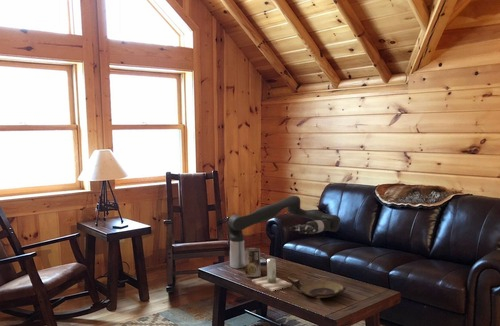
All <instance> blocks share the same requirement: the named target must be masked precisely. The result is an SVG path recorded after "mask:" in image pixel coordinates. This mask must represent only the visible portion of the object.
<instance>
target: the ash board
mask: <svg viewBox="0 0 500 326" xmlns="http://www.w3.org/2000/svg"><path fill="white" fill-rule="evenodd" d="M251 282H252V283H253V284H255V285H257V286H259V285H260V286H259V287H262V288H264V289H266V290H268V291H270V292H275V290H276V291H279V290H283V289H286V288H289V287H293V286H292V285H293V284H292V283H291V282H288V281H286V280H284V279H281V278H280V277H277V276H276V283H268V282H267V275H265V276H263V277H262V276H260V277H259V278H258V277H257V278H254V279H251ZM282 288H283V289H282Z"/></svg>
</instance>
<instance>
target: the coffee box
mask: <svg viewBox="0 0 500 326" xmlns="http://www.w3.org/2000/svg"><path fill="white" fill-rule="evenodd" d="M244 259H245V266H244V272H245V273H244V277H252V278H253V277H255V278H256V277H257V278H258V277H259V278H261V247H245V248H244Z"/></svg>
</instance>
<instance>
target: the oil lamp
mask: <svg viewBox="0 0 500 326" xmlns="http://www.w3.org/2000/svg"><path fill="white" fill-rule="evenodd" d="M287 280H288V281H289V283H291V284H292V285H293V286H294V287H295V288H296V289H297V291H300V292H301V293H303V294H304V295H306V296H309V297H313V298H318V299H326V298H331V297H334V296H336V295H339V294H342V293H344V292H345V291H346V289H347V288H346V287H345V286H344V285H342V283H339V282H337V281H332V280H312V281H307V282H305V283H302V284H301V282H300V279H293V278H291V277H289V276H288V277H287Z"/></svg>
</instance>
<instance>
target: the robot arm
mask: <svg viewBox="0 0 500 326" xmlns="http://www.w3.org/2000/svg"><path fill="white" fill-rule="evenodd" d="M284 209H286V210H287V213H289V214H291V215H294V216H297V217H302V218H306V219H308V220H309V219H310V220H311V221H307V222H306V223H305V224H294V225H292V226H290V227H289V231H290V232H294V231H298V233H299V234H300V235H302V234H308V235H312V234H318V233H321V232H326V231H328V232H333V233H335V232H337V231H338V230H339V227H340V222H341V218H340V216H338V214H328V213H326V212H325V213H324V212H323V211H320V210H318V209H310V210H304V209H303V208H301V198H300V197H299V196H298V195H292V196H291V195H290V196H288V197H286V198H284V199H281V200H279V201H277V202H274V203H271V204H268V205H265V206H262V207H260V208H257V209H256V210H255V211H253V212H252V213H249V214H246V215H242V216H241V215H238V214H233V215H230V217H229V218H228V222H227V223H228V226H227V227H228V236H229V266H230V268H232V269H242V268H245V235H244V233H243V230H245V229H247V228H249V227H251V226H254V225H256V224H259V223H263V222H267V221H269V220H272V219H274V218H275V217H277V215H279V214H280V213H281V212H282V211H283V210H284Z"/></svg>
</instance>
